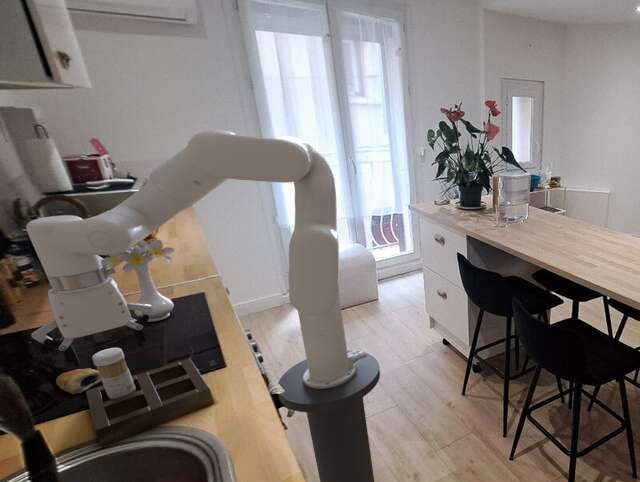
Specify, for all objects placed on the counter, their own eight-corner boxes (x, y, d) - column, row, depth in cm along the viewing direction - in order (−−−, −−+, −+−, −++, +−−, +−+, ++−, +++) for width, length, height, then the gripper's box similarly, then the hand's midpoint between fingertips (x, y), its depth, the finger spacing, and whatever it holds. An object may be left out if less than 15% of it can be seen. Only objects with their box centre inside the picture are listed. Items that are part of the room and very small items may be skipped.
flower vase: (115, 318, 127) (87, 242, 118) (191, 304, 138) (170, 233, 130) (111, 335, 118) (80, 253, 109) (192, 318, 129) (170, 242, 120)
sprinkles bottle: (126, 397, 93) (107, 346, 88) (146, 398, 93) (127, 347, 88) (106, 411, 89) (84, 357, 84) (126, 412, 88) (106, 359, 84)
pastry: (47, 388, 95) (41, 374, 94) (84, 372, 101) (78, 359, 100) (75, 396, 93) (69, 382, 91) (111, 379, 99) (106, 366, 98)
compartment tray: (193, 371, 103) (189, 357, 102) (214, 403, 92) (209, 388, 91) (92, 405, 90) (85, 390, 89) (101, 447, 79) (94, 430, 78)
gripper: (135, 263, 89) (159, 333, 95) (10, 286, 76) (48, 364, 82) (141, 272, 84) (166, 344, 90) (9, 298, 72) (49, 379, 78)
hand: (110, 353), depth 86 cm, fingers open, 9 cm apart
